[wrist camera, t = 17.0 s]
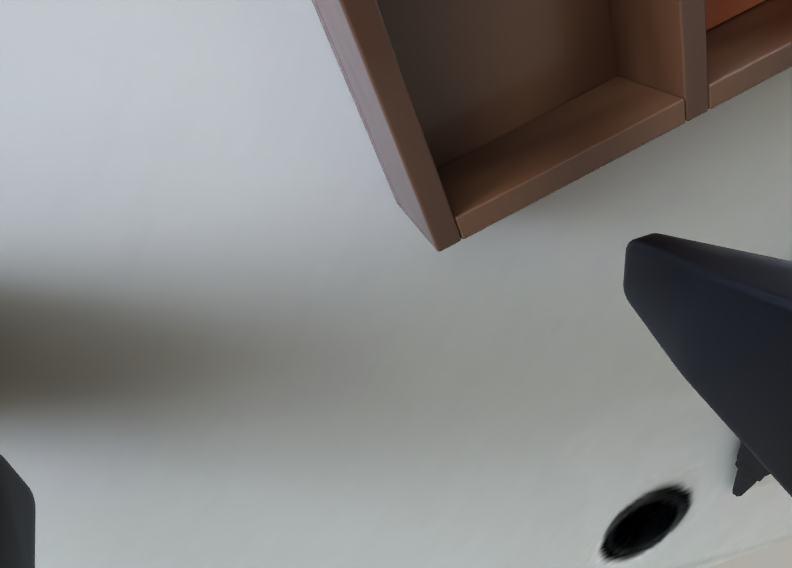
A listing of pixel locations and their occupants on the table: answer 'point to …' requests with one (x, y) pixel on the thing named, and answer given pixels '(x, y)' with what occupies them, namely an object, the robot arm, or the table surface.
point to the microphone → (747, 471)
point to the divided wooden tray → (535, 89)
